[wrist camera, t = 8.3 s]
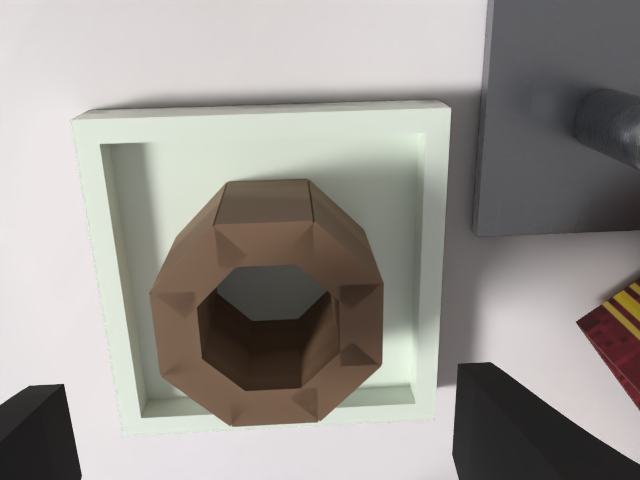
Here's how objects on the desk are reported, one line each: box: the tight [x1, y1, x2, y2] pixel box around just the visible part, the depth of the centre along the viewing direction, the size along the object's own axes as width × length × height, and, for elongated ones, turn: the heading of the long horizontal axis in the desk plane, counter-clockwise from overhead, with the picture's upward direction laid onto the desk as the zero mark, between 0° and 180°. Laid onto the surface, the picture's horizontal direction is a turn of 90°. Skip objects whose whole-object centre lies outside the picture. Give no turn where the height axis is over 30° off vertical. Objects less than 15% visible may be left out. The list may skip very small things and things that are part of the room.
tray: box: [70, 99, 451, 436], centre depth 17 cm, size 9×9×2 cm
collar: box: [149, 179, 384, 427], centre depth 16 cm, size 5×5×4 cm
